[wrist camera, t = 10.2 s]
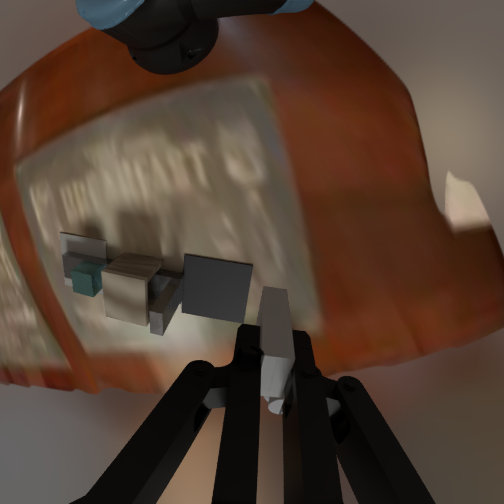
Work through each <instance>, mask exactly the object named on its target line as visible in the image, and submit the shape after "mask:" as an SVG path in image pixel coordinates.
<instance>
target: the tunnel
mask: <svg viewBox="0 0 504 504" xmlns="http://www.w3.org/2000/svg"><path fill="white" fill-rule="evenodd" d="M162 265H163V259H160V258H154V257H149V256H143V255H137V254H132V253H126V252H123V253H122V254H121V255H120V256H119V257H117V258H116V259H115V260H114V261H113V262H111V263H110V264H109V265H108V266H107V267H106V268H104V269H103V270H102V271H101V275H102V286H103V296H104V305H105V313H106V316H107V317H111V318H114V319H118V320H122V321H126V322H130V323H134V324H138V325H142V326H146V327H147V325H148V324H149V322H150V314H149V311H150V309H151V308H152V306H153V305H154V303H155V302H156V300H157V299H152V298H148V296H147V283H148V282H149V281H150V279H151V278H152V277H153V276H154V274H155V273H156V272H157V271H158V270H159V268H160V267H161V266H162Z"/></svg>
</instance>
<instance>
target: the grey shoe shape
mask: <svg viewBox="0 0 504 504" xmlns="http://www.w3.org/2000/svg"><path fill="white" fill-rule="evenodd" d="M252 269H253V265H247V264H241V263H235V262H229V261H222V260H216V259H210V258H204V257H198V256H192V255H186V254H185V255H184V269H183V274H184V293H183V300H182V313H187V314H192V315H198V316H203V317H209V318H214V319H220V320H226V321H232V322H238V323H243V322H244V316H245V310H246V305H247V299H248V293H249V287H250V281H251V275H252Z"/></svg>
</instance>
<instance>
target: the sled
mask: <svg viewBox="0 0 504 504" xmlns="http://www.w3.org/2000/svg"><path fill="white" fill-rule="evenodd" d="M62 260H63V268H64V276H65V278H69V279H72V285H73V291H74V292H76V293H80V294H84V295H87V296H91V297H94V296H95V295H96V294H97V293H98V292H99V291H100V290H101V289H102V288H103V286H102V275H101V271H102V270H103V269H104V268H106V267H107V266H108V265H109V264H110V263H111V262H113V261H112V260H107V259H103V258H98V257H93V256H88V255H83V254H79V253H74V252H69V251H67V252H66V253H64V254H63V255H62ZM183 293H184V274H181V273H176V272H170V271H164V270H158V271H157V272H156V273H155V274H154V276H153V277H152V278H151V279H150V281H149V282H148V283H147V296H148V298H152V299H157V300H156V302H155V303H154V305H153V306H152V308H151V309H150V311H149V314H150V333H153V334H157V335H162V336H163V334H164V332H165V330H166V329H167V327H168V325H169V323H170V321H171V319H172V317H173V315H174V313H175V311H176V309H177V307H178V305H179V304H181V302H182V300H183Z"/></svg>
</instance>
